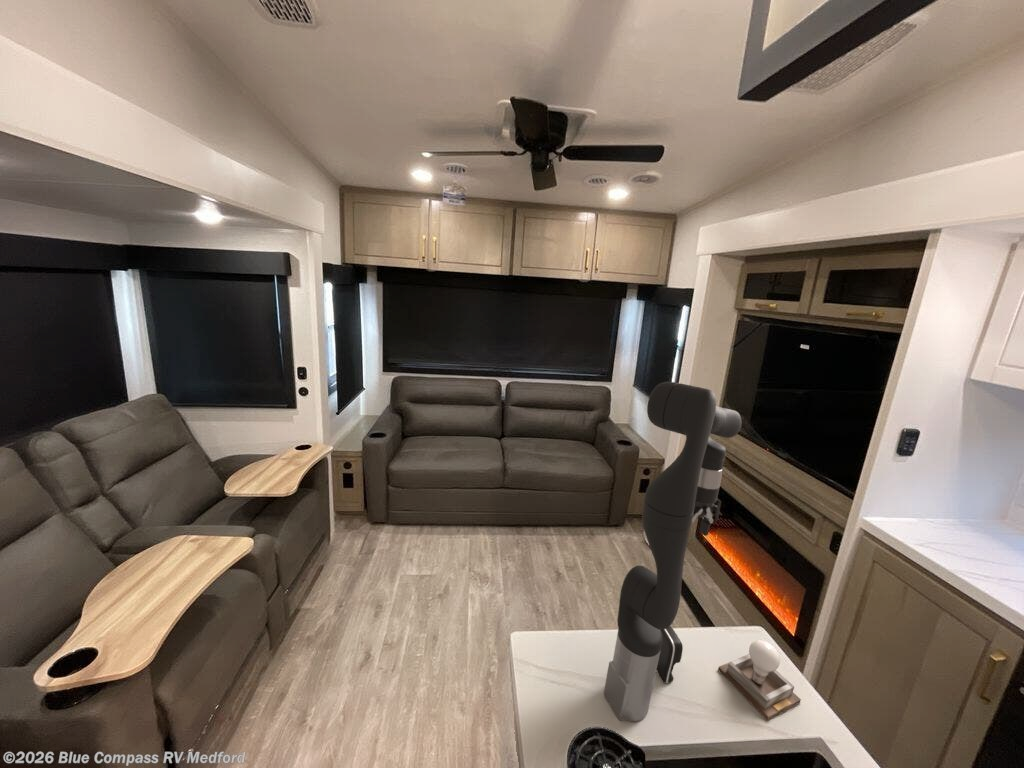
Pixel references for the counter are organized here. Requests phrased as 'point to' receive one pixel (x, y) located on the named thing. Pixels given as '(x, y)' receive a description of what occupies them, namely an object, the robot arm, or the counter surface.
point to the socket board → (760, 687)
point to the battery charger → (669, 654)
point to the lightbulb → (763, 660)
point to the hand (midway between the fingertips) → (692, 536)
